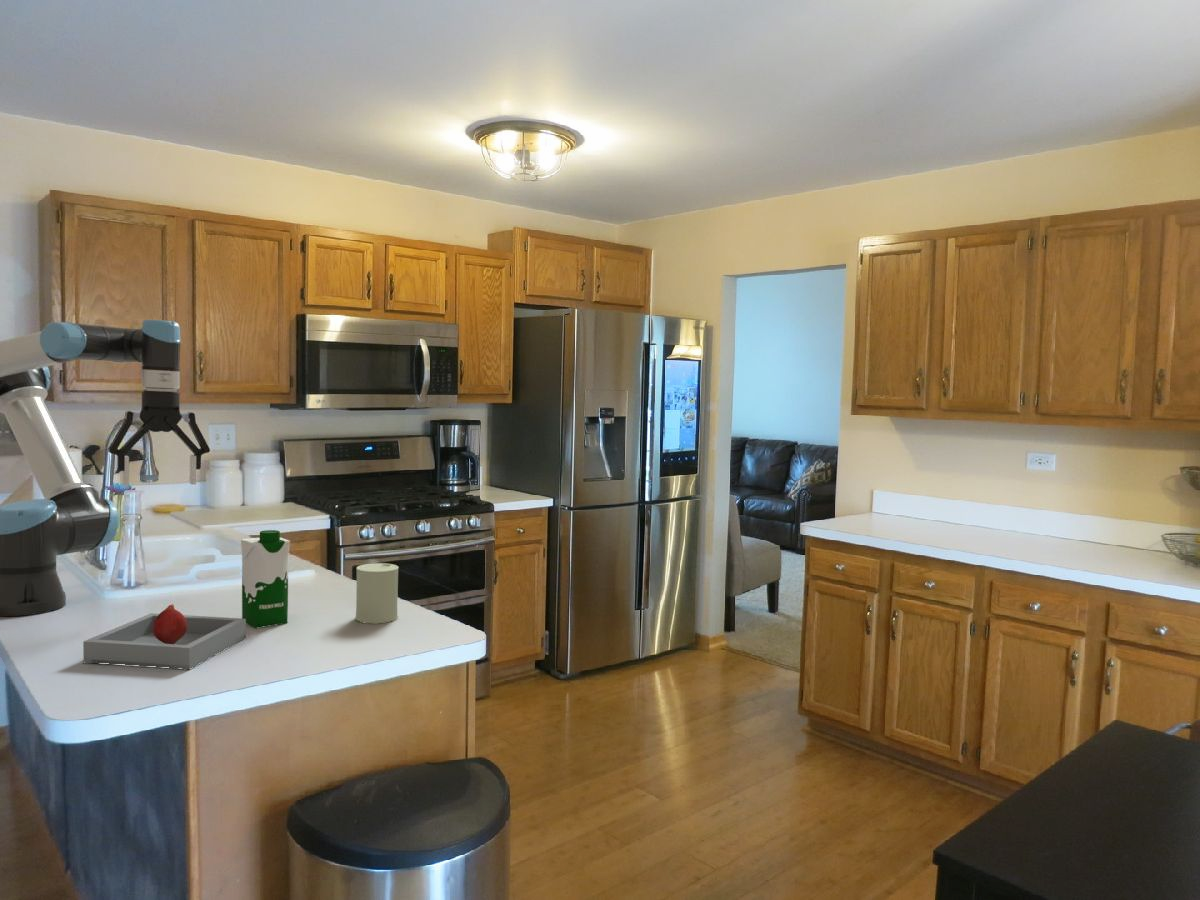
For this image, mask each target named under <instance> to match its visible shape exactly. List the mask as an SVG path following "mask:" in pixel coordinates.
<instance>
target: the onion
mask: <svg viewBox="0 0 1200 900" xmlns="http://www.w3.org/2000/svg"><path fill="white" fill-rule="evenodd" d="M158 614H159V615H158V616H157V617H156V619H155V621H154V624H153V634H154V636H155V637H156V638H157V639H158V640H159V641H161V642H163V643H165V644H175V643H176V642H177V641H178V640H179V639H180V638H182V636H183V635H184V634H185V632H186V630H187V622H186V619H185V617H184V615H185V614H183V613H182V612H181V611H179V610H177V609H175V605H174V604H173V603H172V604H169V605H168V606H167V607H166V608H165V609H163V610H162V611H161V612H159V613H158Z"/></svg>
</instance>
